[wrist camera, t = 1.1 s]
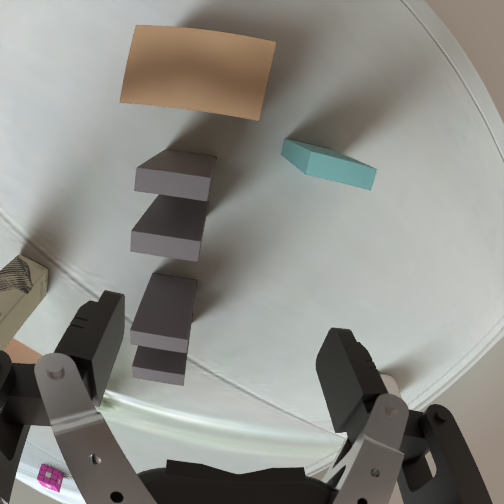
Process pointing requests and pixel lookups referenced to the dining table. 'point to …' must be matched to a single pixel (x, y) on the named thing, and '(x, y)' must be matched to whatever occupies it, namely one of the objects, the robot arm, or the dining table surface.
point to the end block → (198, 70)
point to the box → (19, 294)
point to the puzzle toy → (50, 478)
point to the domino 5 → (328, 164)
